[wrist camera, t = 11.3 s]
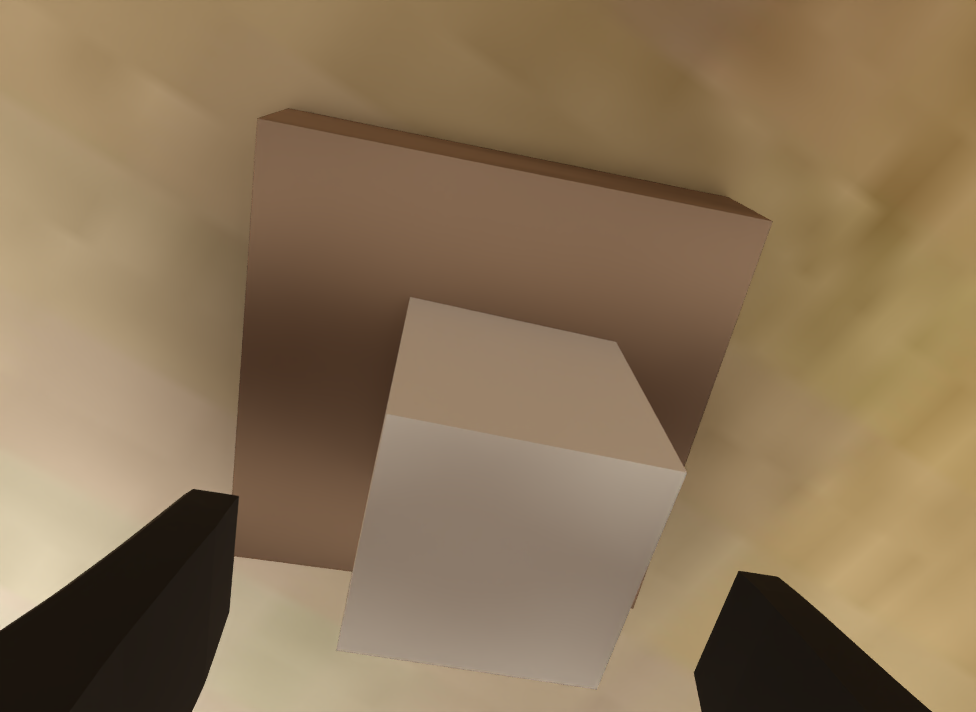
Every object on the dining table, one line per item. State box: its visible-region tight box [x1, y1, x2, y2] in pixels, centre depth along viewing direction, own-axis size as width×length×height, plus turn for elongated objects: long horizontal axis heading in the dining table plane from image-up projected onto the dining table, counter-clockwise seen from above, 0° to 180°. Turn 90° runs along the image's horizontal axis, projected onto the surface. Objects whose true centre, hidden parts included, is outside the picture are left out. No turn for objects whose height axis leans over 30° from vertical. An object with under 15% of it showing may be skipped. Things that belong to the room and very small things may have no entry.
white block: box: [337, 297, 687, 689], centre depth 13 cm, size 4×4×5 cm
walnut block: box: [232, 108, 773, 609], centre depth 17 cm, size 10×10×3 cm
